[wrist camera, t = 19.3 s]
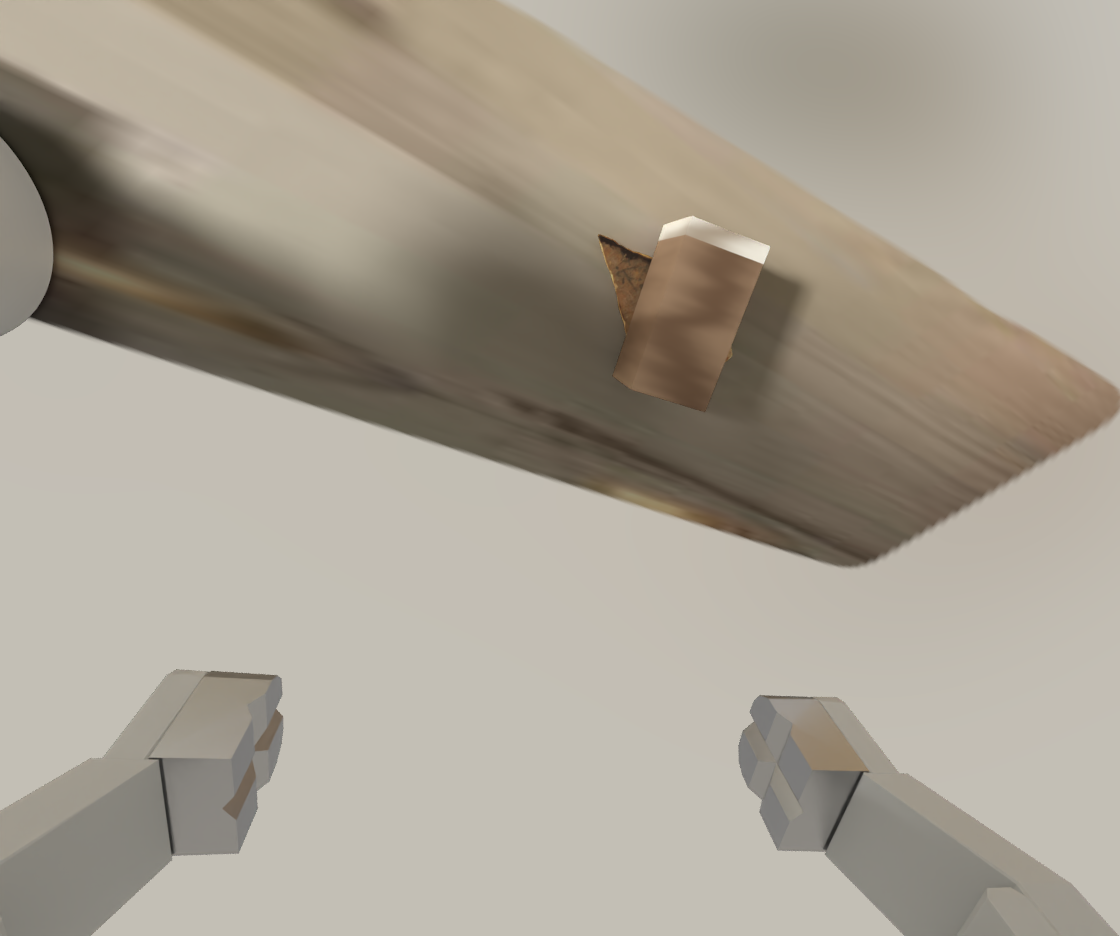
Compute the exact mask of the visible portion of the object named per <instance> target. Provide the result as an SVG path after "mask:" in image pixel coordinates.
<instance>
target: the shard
mask: <svg viewBox="0 0 1120 936" xmlns="http://www.w3.org/2000/svg"><path fill="white" fill-rule="evenodd" d="M598 237H599V243H600V247H601V250H602V253H603V255H604V258H605V261H606V265H607V267H608V269H609V271H610V274H611V279H612V281H613V284H614V287H615V291H616V294H617V300H618V307H619V311H620V314H621V317H622V320H623V323H624V328H625V333H626V334H627V331H628V328H629V325H630V323H631V320H632V317H633V314H634V311H635V308H636V305H637V302H638V299H639V296H640V293H641V290H642V287H643V284H644V281H645V279H646V276H647V273H648V270H649V267H650V264H651V261H652V257H650V256H648V255H644V254H641V253H639V252H634V251H632V250H630V249H627V248H625V247H624V246H621V245H619V244H618V243H617V242H616V241H615V240H613V239H610V238H608V237H605V236H603V235H600V234H598ZM732 355H733V354H732V348H730V350H729V353H728V356H727V358H726V361H728V360H729V359H730V358H731V357H732ZM726 361H725V362H726Z"/></svg>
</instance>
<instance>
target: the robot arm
mask: <svg viewBox="0 0 1120 936" xmlns="http://www.w3.org/2000/svg"><path fill="white" fill-rule="evenodd" d="M52 267H53V242H52V234H51V229H50V224H49V221H48V217H47V214H46V211H45V208H44V205H43V203H42V200H41V198H40V195H39V193H38V191H37V189H36V187H35V185H34V183H33V181H32V180H31V178H30V176H29V174H28V173H27V171H26V170H25V168H24V166H23V165H22V163H21V162H20V161H19V159H18V158H17V156H16V155H15V154H14V152H13V151H12V150H11V149H10V147H9V146H8V145H7V144H6V143H5V142H4V140H3V139H2V138H1V137H0V336H2V335H4V334H5V333H7V332H9V331H11V330H13V329H15V328H16V327H18V326H19V325H21V324H22V323H23V322H24V321H25V320H27V319H28V318H29V317H30V316H31V315H32V313H33V312H34V311H35V310H36V309H37V307H38V306H39V304H40V303H41V301H42V299H43V297H44V295H45V293H46V291H47V288H48V285H49V282H50V279H51V274H52ZM281 697H282V681H281V678H280V677H279V676H277V675H265V674H249V673H234V672H219V671H211V672H206V671H192V670H179V669H176V670H174V671H173V672H171V673H170V674H168V675H167V676H165V678H164V679H163V680H162V682H161V683H160V684H159V686H158V687H157V688H156V689H155V691H154V692H153V693H152V694H151V696H150V697H149V699H148V700H147V701H146V702H145V704H144V705H143V706H142V707H141V709H140V710H139V711H138V713H137V714H136V715H135V716H134V718H133V719H132V720H131V722H130V723H129V724H128V726H127V727H126V728H125V729H124V731H123V732H122V733H121V735H120V736H119V737H118V739H117V740H116V741H115V742H114V744H113V745H112V746H111V748H110V749H109V750H108V751H107V753H106V754H105V756H104V757H103V758H90V759H88V760H87V761H85V762H83V763H81V764H80V765H78V766H77V767H75V768H73V769H71V770H69V771H68V772H66V773H64V774H63V775H61V776H59V777H58V778H56V779H54V780H52V781H51V782H49V783H47V784H45V785H44V786H42V787H40V788H39V789H37V790H35V791H33V792H32V793H30V794H28V795H27V796H25V797H23V798H21V799H20V800H18V801H16V802H15V803H13V804H11V805H9V806H8V807H6V808H4V809H3V810H1V811H0V936H91V935H92V934H93V933H94V932H95V931H96V930H97V929H98V928H99V927H101V926H102V925H103V924H104V923H105V922H106V921H107V920H108V919H109V918H110V917H111V916H112V915H113V914H114V913H116V912H117V911H118V910H119V909H120V908H121V907H122V906H123V905H124V904H125V903H126V902H127V901H128V900H129V899H131V898H132V897H133V896H134V895H135V894H136V893H137V892H138V891H139V890H140V889H141V888H142V887H143V886H145V885H146V883H148V882H149V881H150V880H151V879H152V878H153V877H154V876H155V875H156V874H157V873H158V872H160V870H162V869H163V868H164V867H165V866H166V865H167V864H168V863H169V862H170V861H171V860H172V856H177V855H178V856H179V855H204V854H205V855H207V854H236V853H239V851H240V849H241V846H242V844H243V842H244V840H245V837H246V835H247V832H248V830H249V827H250V826H251V823H252V821H253V818H254V816H255V814H256V812H257V808H258V807H257V791H258V790H259V789H260V788H261V787H263V786H264V785H265V784H266V783H268V782H269V781H270V778H271V776H272V773H273V771H274V768H275V765H276V763H277V759H278V755H279V752H280V748H281V744H282V736H283V716H282V715H281V714H280V713H279V712H278V711H277V709H276V707H277V705H278V703H279V701H280V699H281ZM750 714H751V716H752V717H753V720H754V722H753V723H752V724H751V725H749V726H748V727H747V728H746V729H745V730H743V732H742V736H741V739H740V742H739V764H740V768H741V772H742V775H743V777H744V780H745V782H746V784H747V786H748V788H749V789H750V790H751V791H752V792H754V793H755V794H756V795H757V796H758V797H759V798H761V799H762V803H761V807H760V814H761V816H762V818H763V820H764V823H765V825H766V827H767V829H768V831H769V833H770V835H771V837H772V839H773V842H774V844H775V846H776V848H777V850H782V851H819V852H826V853H825V855H826V856H827V857H828V858H829V859H830V860H831V861H832V862H833V864H835V866H836V867H837V868H838V869H839V870H840V871H841V872H842V873H844V875H845V876H846V877H847V878H848V879H849V880H850V881H851V882H852V883H853V884H854V885H855V886H856V887H857V888H858V889H859V890H860V891H861V892H862V893H863V894H864V895H865V896H866V897H867V898H868V899H869V900H870V901H871V902H872V903H873V904H874V905H875V906H876V907H877V908H878V909H879V910H880V911H881V912H882V913H883V914H884V915H885V916H886V918H888V919H889V921H891V923H892V924H893V925H894V926H896V928H897V929H898V930H899V931H900V932H902V934H903V935H904V936H1118V935H1117V933H1116V932H1115V931H1114V930H1113V929H1112V928H1111V927H1110V926H1109V925H1108V923H1107V922H1106V921H1105V920H1104V919H1103V918H1102V917H1101V916H1100V915H1099V914H1098V913H1097V912H1096V910H1095V909H1094V908H1093V907H1092V906H1091V905H1090V904H1089V903H1088V901H1087V900H1086V899H1085V898H1084V897H1083V896H1082V895H1081V894H1080V893H1079V891H1078V890H1077V889H1076V888H1075V887H1074V886H1073V885H1072V884H1071V883H1069V882H1068V881H1066V880H1065V879H1063V878H1062V877H1060V876H1059V875H1058V874H1056V873H1055V872H1053V871H1051V870H1050V869H1049V868H1047V867H1045V866H1044V865H1043V864H1041V863H1040V862H1038V861H1037V860H1035V859H1034V858H1032V857H1031V856H1029V855H1028V854H1026V853H1025V852H1023V851H1021V850H1020V849H1019V848H1017V847H1016V846H1014V845H1013V844H1011V843H1010V842H1008V841H1007V840H1005V839H1004V838H1002V837H1001V836H1000V835H998V834H997V833H995V832H994V831H992V830H991V829H989V828H988V827H986V826H984V825H983V824H982V823H980V822H979V821H977V820H976V819H974V818H973V817H971V816H970V815H968V814H967V813H965V812H964V811H962V810H961V809H959V808H958V807H956V806H955V805H953V804H952V803H950V802H949V801H948V800H946V799H944V798H943V797H941V796H940V795H939V794H937V793H936V792H934V791H933V790H931V789H930V788H928V787H927V786H925V785H924V784H922V783H921V782H919V781H918V780H916V779H914V778H913V777H912V776H910V775H909V774H901V773H899V772H898V771H897V769H896V768H895V767H894V766H893V764H892V763H891V762H890V760H889V759H888V758H887V756H886V755H885V754H884V753H883V751H882V750H881V749H880V747H879V746H878V745H877V743H876V742H875V741H874V740H873V738H872V737H871V736H870V735H869V733H868V732H867V731H866V729H865V728H864V727H863V725H862V724H861V723H860V722H859V720H858V719H857V718H856V716H855V715H854V714H853V713H852V711H851V710H850V709H849V707H848V706H847V705H846V704H845V703H844V702H843V701H841V700H840V699H839V698H836V697H795V696H765V695H760V696H758V697H757V698H756V699H755V700H754V702H753V705H752V707H751V710H750Z"/></svg>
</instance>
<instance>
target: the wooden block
mask: <svg viewBox="0 0 1120 936" xmlns="http://www.w3.org/2000/svg"><path fill="white" fill-rule="evenodd" d="M770 247H771V246H768V245H765V244H763V243H760V242H758V241H755V240H753V239H750V238H748V237H745V236H742V235H740V234H737V233H735V232H732V231H730V230H727V229H724V228H722V227H719V226H717V225H714V224H712V223H709V222H707V221H704V220H701V219H699V218H696V217H694V216H690V217H687V218H684V219H681V220H677V221H674V222H671V223H668V224H665V225H664V226H663V229H662V232H661V235H660V237H659V240H658V243H657V246H656V249H655V252H654V255H653V258H652V261H651V264H650V267H649V270H648V273H647V276H646V279H645V281H644V284H643V287H642V290H641V293H640V296H639V299H638V302H637V305H636V308H635V311H634V314H633V317H632V320H631V323H630V325H629V328H628V331H627V334H626V337H625V340H624V343H623V346H622V349H621V352H620V355H619V358H618V361H617V364H616V367H615V369H614V372H613V375H612V376H613V377H614V378H615V379H617V380H618V381H620V382H621V383H622V384H624V385H625V386H627V387H628V388H629V389H631V390H634V391H637V392H640V393H644V394H647V395H650V396H654V397H657V398H660V399H663V400H667V401H670V402H673V403H677V404H680V405H683V406H686V407H690V408H693V409H696V410H699V411H703V412H705V411H706V409H707V406H708V404H709V401H710V399H711V396H712V394H713V391H714V388H715V386H716V383H717V381H718V378H719V376H720V373H721V371H722V368H723V366H724V363H725V361H726V358H727V356H728V353H729V350H730V348H731V345H732V343H733V340H734V338H735V335H736V333H737V330H738V328H739V325H740V323H741V320H742V318H743V315H744V312H745V310H746V307H747V305H748V302H749V300H750V297H751V295H752V292H753V290H754V287H755V285H756V282H757V280H758V277H759V274H760V272H761V269H762V267H763V264H764V262H765V259H766V257H767V254H768V252H769V249H770Z"/></svg>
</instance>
